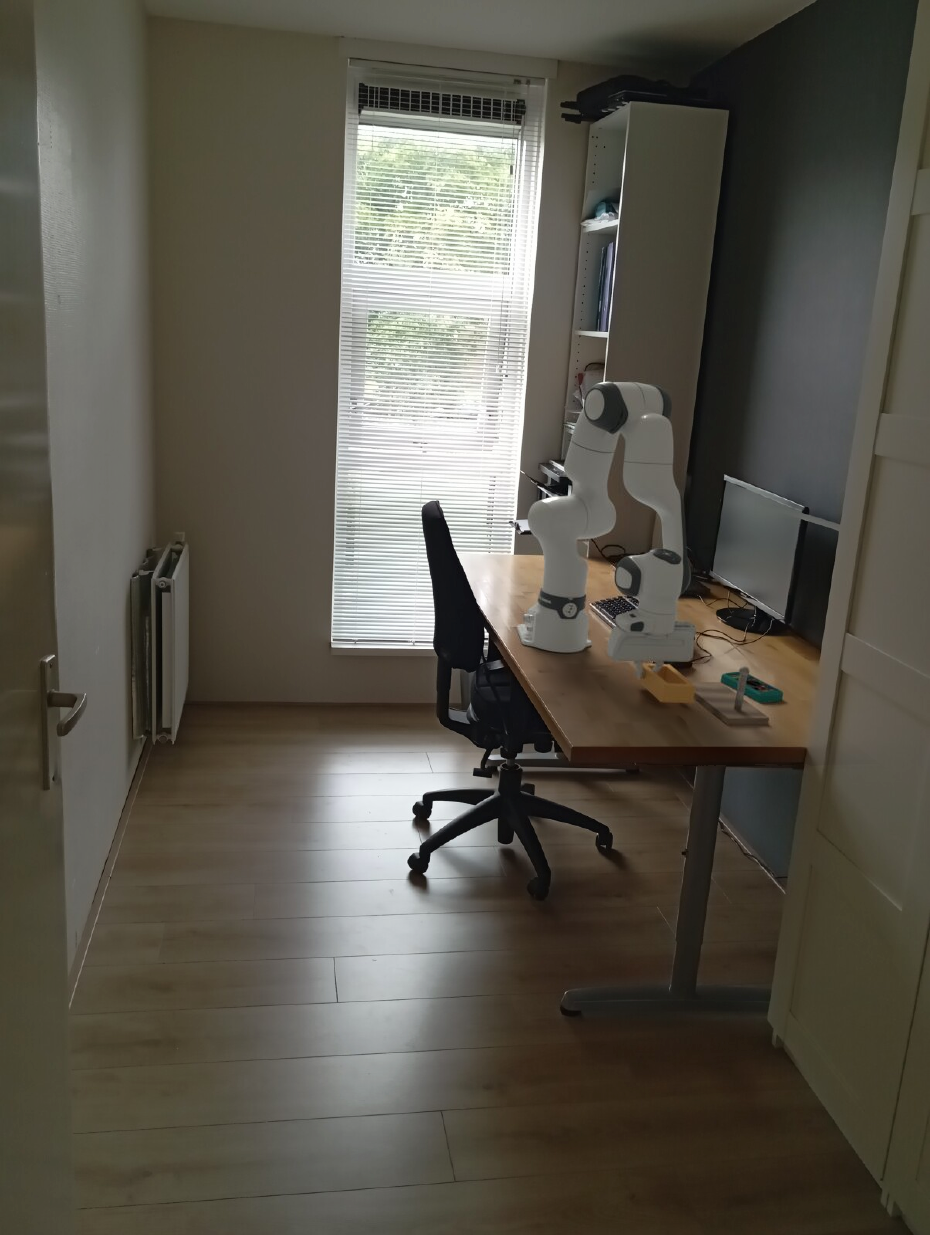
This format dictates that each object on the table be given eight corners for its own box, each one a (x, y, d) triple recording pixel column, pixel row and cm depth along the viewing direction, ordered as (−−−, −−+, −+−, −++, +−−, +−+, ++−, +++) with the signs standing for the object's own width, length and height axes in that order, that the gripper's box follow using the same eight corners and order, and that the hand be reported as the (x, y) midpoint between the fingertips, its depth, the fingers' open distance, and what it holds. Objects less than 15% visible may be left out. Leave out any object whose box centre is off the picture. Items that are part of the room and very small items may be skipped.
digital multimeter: (759, 705, 236) (762, 693, 235) (718, 683, 249) (720, 671, 248) (784, 703, 239) (786, 691, 238) (742, 680, 252) (744, 669, 251)
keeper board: (681, 688, 241) (689, 641, 237) (719, 688, 243) (727, 642, 240) (727, 724, 220) (736, 674, 217) (768, 724, 223) (777, 674, 220)
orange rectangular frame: (636, 678, 238) (639, 663, 237) (666, 680, 241) (669, 664, 239) (660, 702, 226) (664, 685, 225) (692, 703, 228) (696, 686, 227)
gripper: (690, 617, 237) (681, 673, 241) (609, 615, 231) (600, 672, 235) (703, 626, 231) (693, 683, 235) (619, 624, 225) (610, 682, 230)
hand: (646, 677), depth 235 cm, fingers closed on orange rectangular frame
